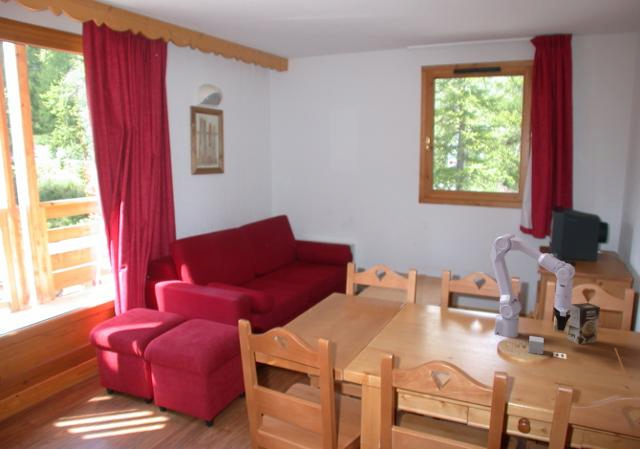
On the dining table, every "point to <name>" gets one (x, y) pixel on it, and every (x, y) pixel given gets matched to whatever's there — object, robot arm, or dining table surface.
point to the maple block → (557, 327)
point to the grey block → (536, 345)
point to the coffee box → (583, 323)
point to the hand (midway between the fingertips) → (560, 327)
